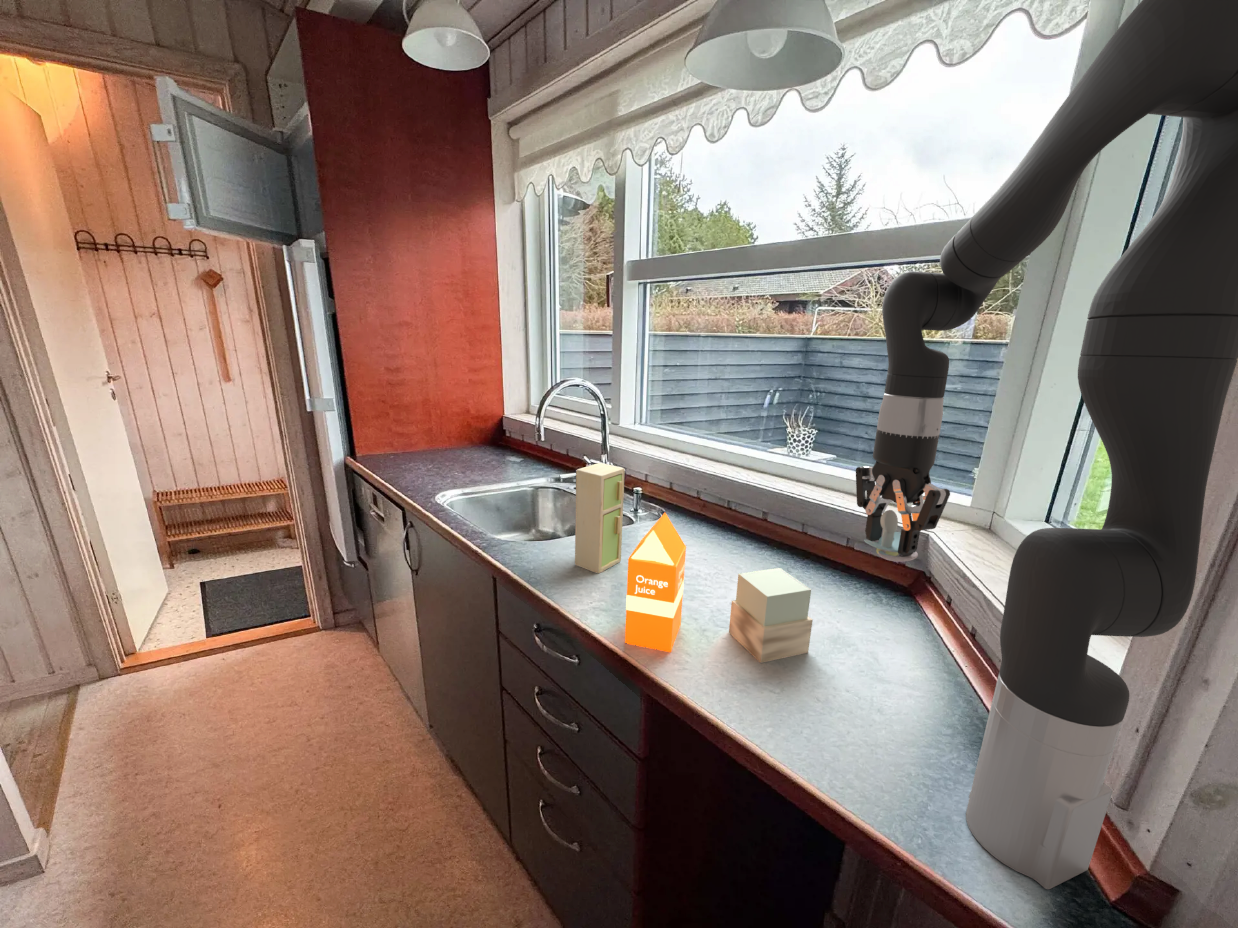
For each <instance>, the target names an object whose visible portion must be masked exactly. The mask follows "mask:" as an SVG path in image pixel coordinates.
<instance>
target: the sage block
mask: <svg viewBox="0 0 1238 928" xmlns="http://www.w3.org/2000/svg"><path fill="white" fill-rule="evenodd" d="M736 585H737V586H736V596H735V597H736V598H735V600H736V602H737V603H738V604H739V605H740V606H741V607H743V608H744V609H745V610H746V611H747V612H748V613H749V614H750V615H752V616H753V617H754V618H755V619H756V620H757V621H758V622H759V623H761V624H762V625H763V626H770V625H775V624H781V623H786V622H792V621H797V620H802V619H807V618H808V617H809V609H810V602H811V594H812V589H811V588H810V587H808V586H807V585H806V584H804V583H803V582H801V581H800V580H798V579H797V578H796V577H794V576H792V575H790V573H788V572H787V571H785V570H783V568H781V567H775V568H769V569H768V568H767V569H762V570H755V571H747V572H741V573H738V574H737V584H736Z"/></svg>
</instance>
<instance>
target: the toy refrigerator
mask: <svg viewBox="0 0 1238 928" xmlns="http://www.w3.org/2000/svg"><path fill="white" fill-rule="evenodd" d="M625 470H626V469H625V467H621V466H618V465H617V466H616V465H613V464H608V463H604V462H599V463H595V464H591V465H588V466H585V467H581V468H577V469H576V471H575V473H576V474H575V534H574V536H575V537H574V539H575V543H574V564H575V566H577V567H580V568H583V569H585V570H588V571H590V572H593V573H596V574H600V573H602V572H604V571H606V570H608V569H611V567H614V566H615V565H617V564H618V563H619V564H620V562H621V560H622V544H623V543H622V539H623V534H622V533H623V513H624V494H625V493H624V492H625Z"/></svg>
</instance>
